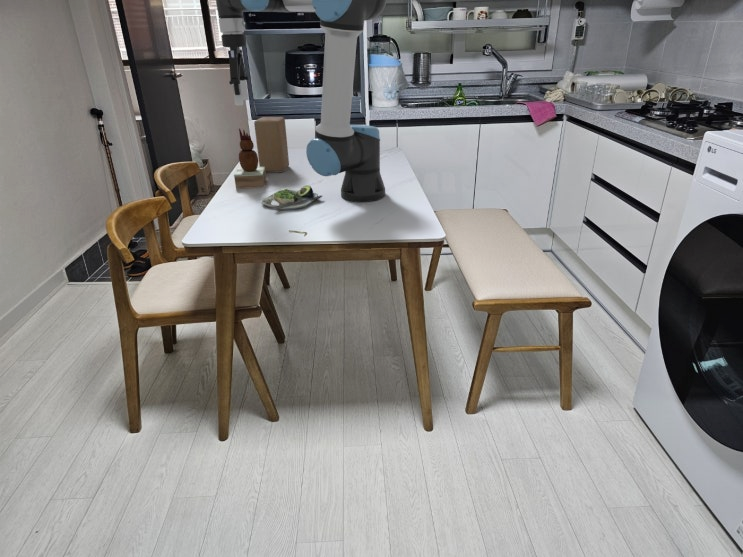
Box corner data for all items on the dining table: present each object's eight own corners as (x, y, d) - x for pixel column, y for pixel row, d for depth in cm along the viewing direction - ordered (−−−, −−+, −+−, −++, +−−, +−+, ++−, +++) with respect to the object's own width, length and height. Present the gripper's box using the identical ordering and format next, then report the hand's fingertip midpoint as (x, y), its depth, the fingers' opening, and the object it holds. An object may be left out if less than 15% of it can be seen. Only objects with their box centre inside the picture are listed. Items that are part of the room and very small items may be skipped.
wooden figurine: (237, 171, 177) (231, 129, 170) (248, 167, 181) (242, 126, 174) (252, 173, 174) (246, 130, 167) (262, 169, 178) (257, 127, 171)
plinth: (263, 187, 176) (262, 173, 174) (236, 188, 175) (233, 174, 173) (266, 179, 185) (265, 166, 182) (240, 180, 184) (238, 167, 182)
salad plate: (296, 217, 148) (295, 202, 146) (249, 210, 155) (247, 196, 153) (327, 198, 164) (326, 185, 162) (283, 193, 171) (281, 180, 168)
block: (289, 166, 202) (285, 116, 193) (283, 172, 193) (278, 120, 184) (266, 166, 203) (260, 116, 194) (259, 172, 194) (253, 120, 185)
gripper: (239, 33, 146) (248, 107, 156) (249, 33, 168) (257, 97, 178) (213, 34, 146) (225, 108, 155) (227, 33, 168) (236, 98, 177)
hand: (242, 102), depth 167 cm, fingers open, 13 cm apart
